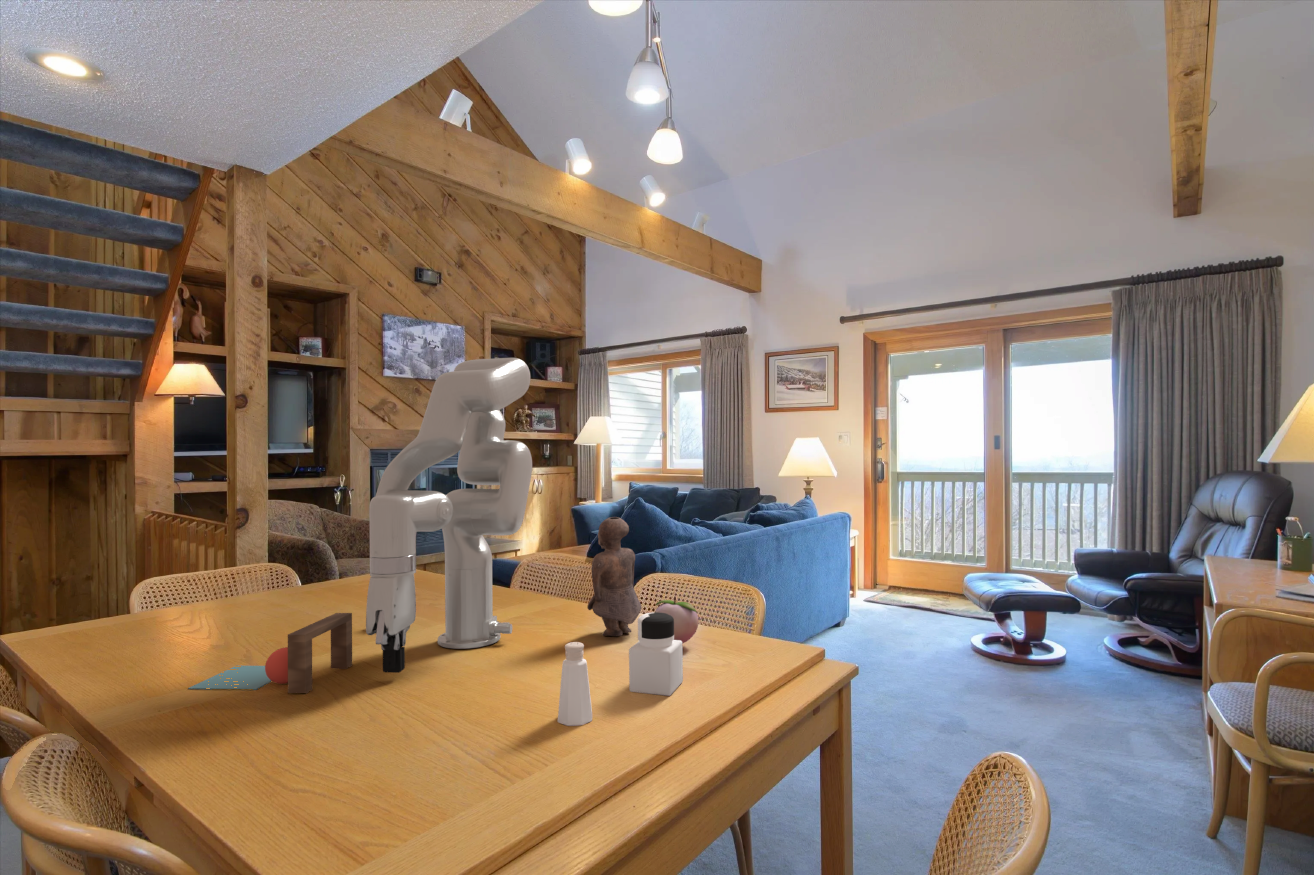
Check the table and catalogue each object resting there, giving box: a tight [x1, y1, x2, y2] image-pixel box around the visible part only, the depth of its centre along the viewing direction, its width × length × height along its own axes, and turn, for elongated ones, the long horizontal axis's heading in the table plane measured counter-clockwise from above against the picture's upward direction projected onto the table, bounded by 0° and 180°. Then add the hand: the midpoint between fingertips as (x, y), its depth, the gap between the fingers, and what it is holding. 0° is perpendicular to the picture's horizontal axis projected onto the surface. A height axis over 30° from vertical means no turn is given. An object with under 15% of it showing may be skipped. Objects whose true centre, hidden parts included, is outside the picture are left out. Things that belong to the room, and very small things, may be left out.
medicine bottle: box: [628, 611, 684, 697], centre depth 115 cm, size 7×7×12 cm
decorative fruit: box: [654, 596, 699, 645], centre depth 138 cm, size 9×8×10 cm
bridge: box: [287, 612, 353, 694], centre depth 121 cm, size 3×15×10 cm, turn 176°
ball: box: [264, 646, 288, 685], centre depth 119 cm, size 6×6×6 cm
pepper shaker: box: [557, 641, 593, 727], centre depth 102 cm, size 5×5×11 cm
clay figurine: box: [587, 516, 642, 637], centre depth 148 cm, size 13×10×25 cm
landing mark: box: [187, 665, 272, 691], centre depth 122 cm, size 12×12×1 cm
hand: (393, 670), depth 120 cm, fingers closed
